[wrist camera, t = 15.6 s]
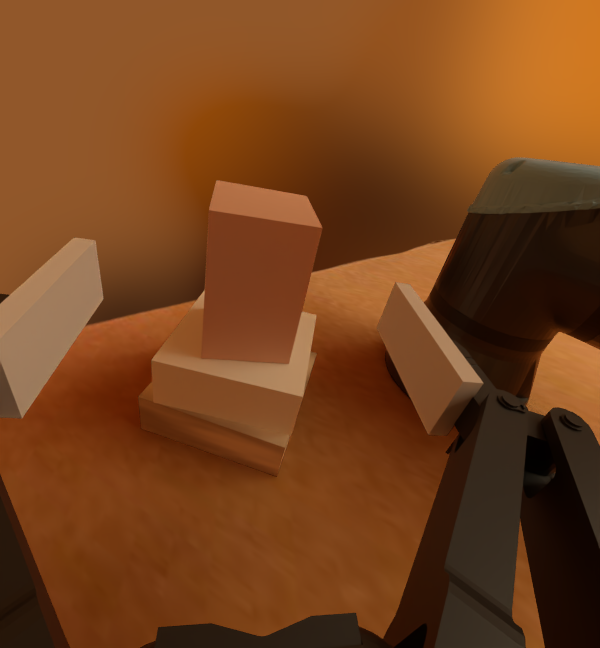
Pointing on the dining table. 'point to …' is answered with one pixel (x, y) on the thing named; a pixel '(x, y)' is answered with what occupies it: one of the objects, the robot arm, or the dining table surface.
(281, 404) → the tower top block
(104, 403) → the dining table surface
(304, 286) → the tall block
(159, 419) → the tower base block
